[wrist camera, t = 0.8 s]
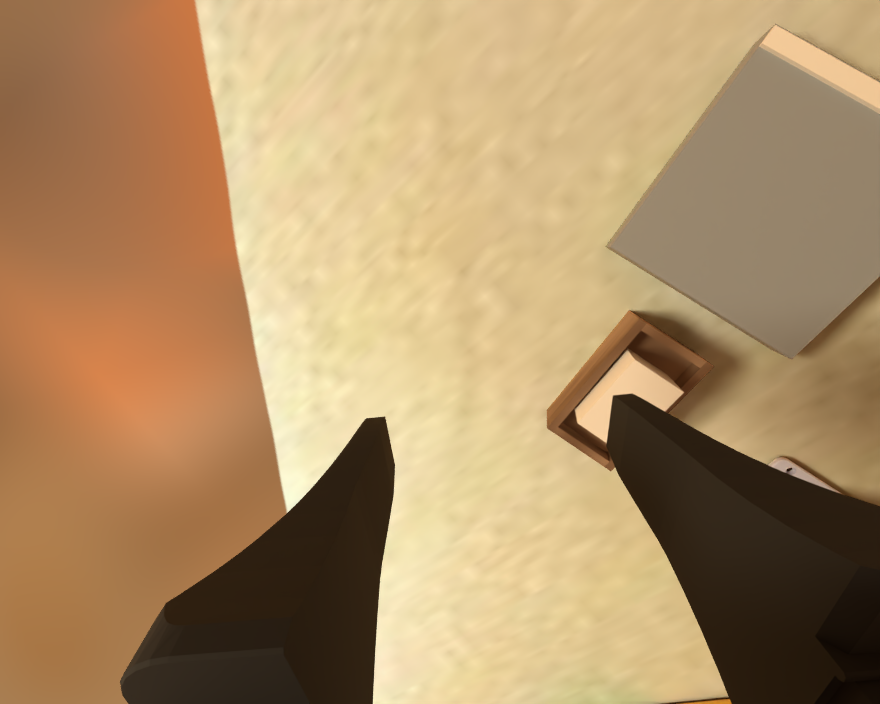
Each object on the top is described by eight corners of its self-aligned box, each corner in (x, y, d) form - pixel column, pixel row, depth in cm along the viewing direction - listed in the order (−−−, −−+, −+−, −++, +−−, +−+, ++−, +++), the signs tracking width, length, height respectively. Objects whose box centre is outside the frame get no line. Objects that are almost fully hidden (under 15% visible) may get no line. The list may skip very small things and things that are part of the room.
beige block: (667, 374, 24) (684, 392, 21) (613, 431, 26) (622, 453, 23) (624, 346, 24) (634, 359, 21) (573, 403, 26) (577, 423, 23)
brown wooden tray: (692, 350, 25) (714, 366, 22) (603, 445, 28) (611, 471, 25) (627, 309, 25) (639, 318, 22) (546, 407, 29) (547, 428, 26)
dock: (965, 162, 19) (1017, 151, 17) (772, 350, 24) (794, 360, 21) (753, 44, 20) (779, 20, 18) (605, 246, 24) (611, 247, 22)
